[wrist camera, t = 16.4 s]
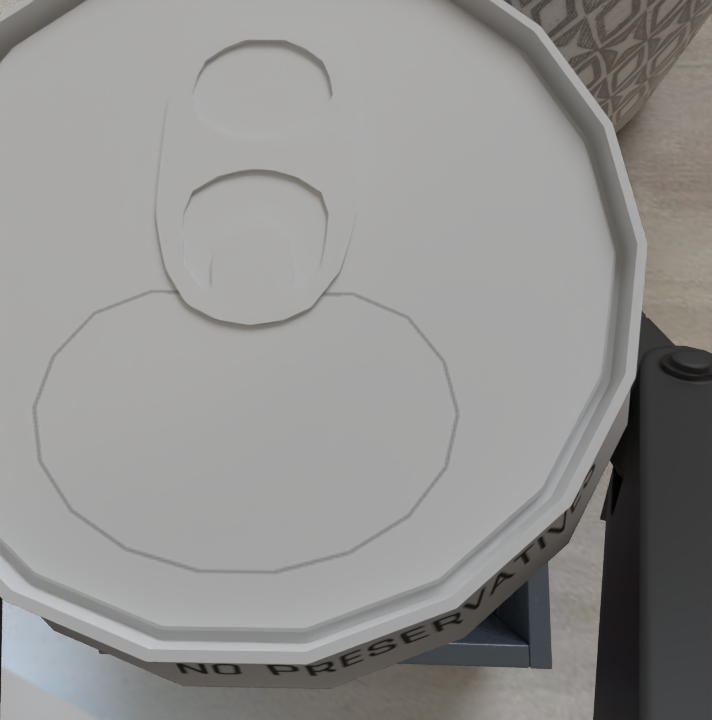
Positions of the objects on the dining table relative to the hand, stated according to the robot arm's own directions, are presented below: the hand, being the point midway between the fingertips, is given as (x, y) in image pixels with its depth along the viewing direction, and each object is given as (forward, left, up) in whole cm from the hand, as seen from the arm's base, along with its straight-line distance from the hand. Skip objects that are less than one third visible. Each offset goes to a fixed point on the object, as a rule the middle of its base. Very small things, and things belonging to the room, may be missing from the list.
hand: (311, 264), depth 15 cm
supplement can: (0, -3, -6) cm, 7 cm away
